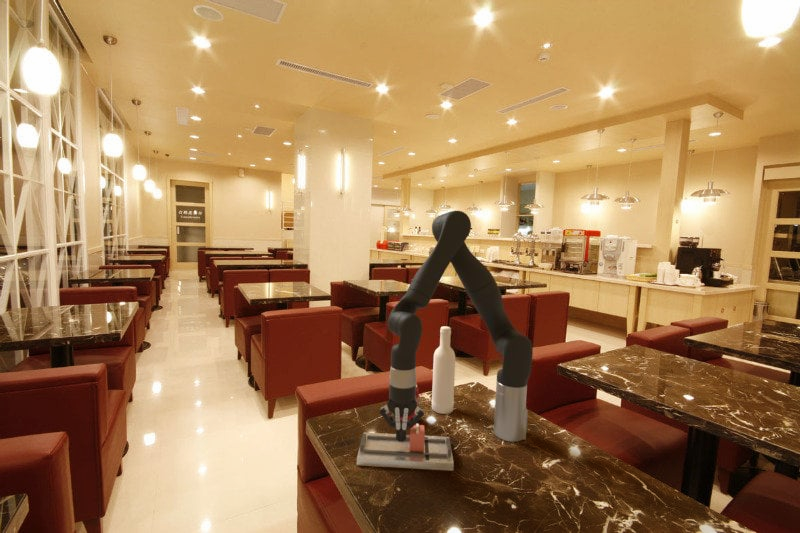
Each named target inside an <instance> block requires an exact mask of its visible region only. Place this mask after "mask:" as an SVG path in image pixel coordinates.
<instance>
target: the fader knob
mask: <svg viewBox="0 0 800 533" xmlns="http://www.w3.org/2000/svg"><path fill="white" fill-rule="evenodd" d="M409 429H410V430H409V431H410V432H409V435H410V451H419V452H424V439H425V436H426V434H425V431H426V430H425V424H424V425H423V424H420V423H418V422H417V423H416V424H415V425H414V426H413V427H412V428H409Z"/></svg>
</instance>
